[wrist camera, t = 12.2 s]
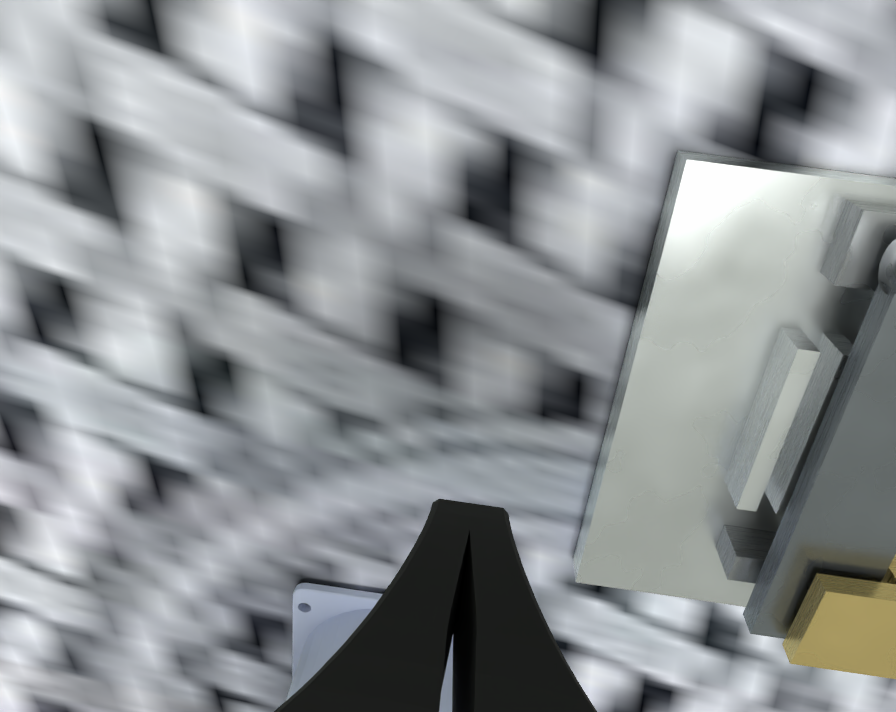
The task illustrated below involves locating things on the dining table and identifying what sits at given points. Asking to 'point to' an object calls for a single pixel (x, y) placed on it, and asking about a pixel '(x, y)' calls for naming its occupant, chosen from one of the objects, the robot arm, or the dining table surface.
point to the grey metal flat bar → (841, 479)
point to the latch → (847, 625)
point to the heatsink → (729, 370)
